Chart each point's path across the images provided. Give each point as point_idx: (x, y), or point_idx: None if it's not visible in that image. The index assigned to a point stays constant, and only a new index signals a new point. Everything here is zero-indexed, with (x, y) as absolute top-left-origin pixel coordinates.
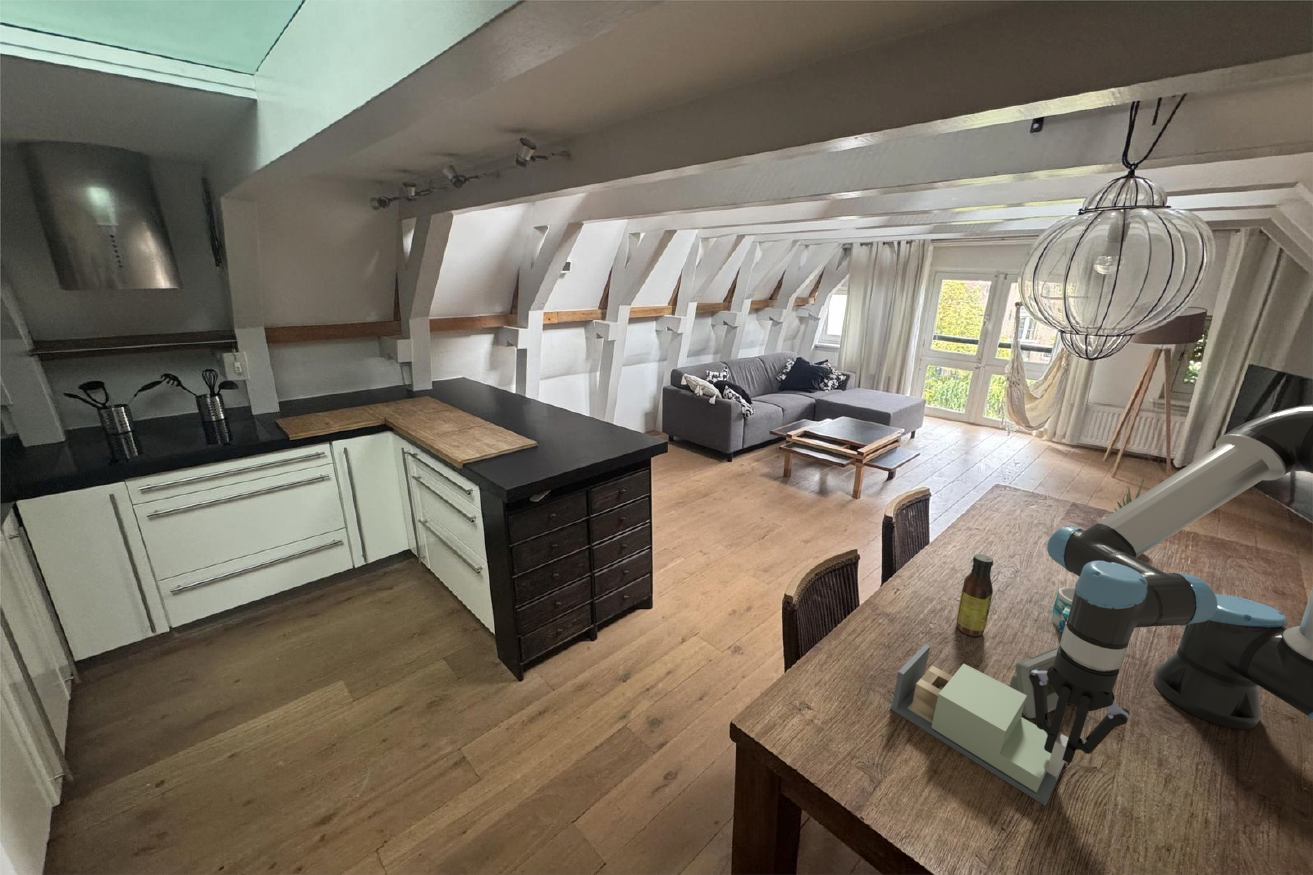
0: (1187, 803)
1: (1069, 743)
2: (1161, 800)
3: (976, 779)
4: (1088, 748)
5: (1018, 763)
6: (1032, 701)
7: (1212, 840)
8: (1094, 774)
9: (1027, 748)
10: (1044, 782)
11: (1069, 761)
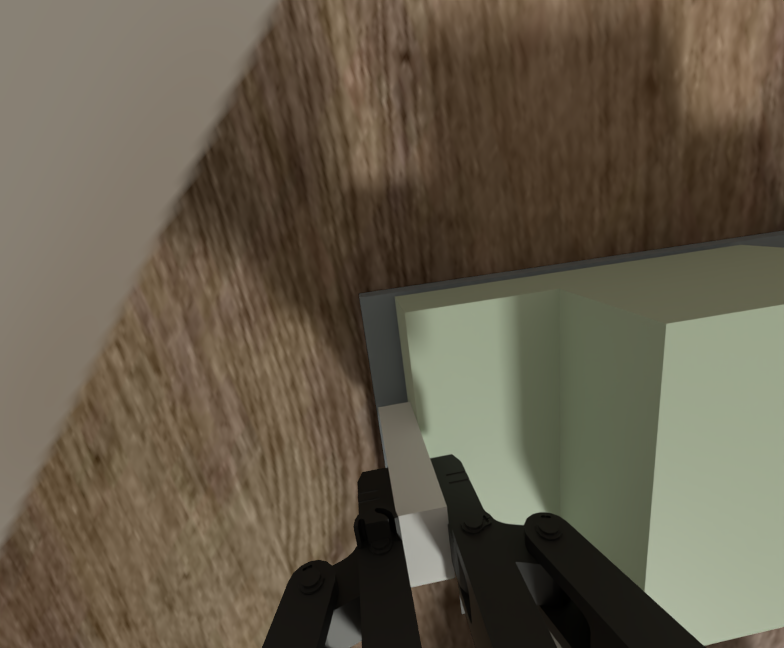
0: (149, 644)
1: (392, 551)
2: (187, 600)
3: (540, 192)
4: (301, 604)
5: (491, 311)
6: (552, 636)
7: (59, 587)
8: (325, 535)
9: (494, 419)
10: (396, 369)
11: (365, 479)
